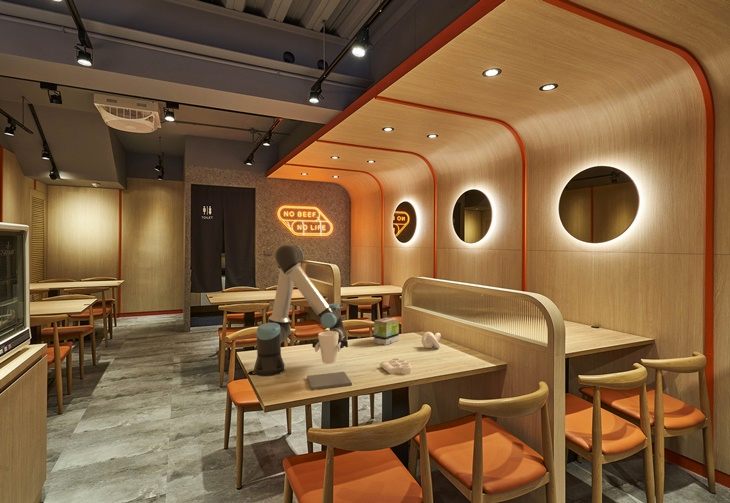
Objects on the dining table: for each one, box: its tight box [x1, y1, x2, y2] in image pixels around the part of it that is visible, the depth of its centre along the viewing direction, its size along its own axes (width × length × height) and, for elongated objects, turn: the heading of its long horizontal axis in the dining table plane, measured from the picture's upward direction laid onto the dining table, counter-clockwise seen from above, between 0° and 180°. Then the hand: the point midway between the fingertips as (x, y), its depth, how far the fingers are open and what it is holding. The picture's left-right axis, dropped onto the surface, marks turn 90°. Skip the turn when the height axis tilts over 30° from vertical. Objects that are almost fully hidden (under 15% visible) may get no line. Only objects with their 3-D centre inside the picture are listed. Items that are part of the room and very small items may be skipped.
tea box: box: [373, 316, 400, 346], centre depth 248 cm, size 15×10×15 cm, turn 143°
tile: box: [306, 371, 353, 391], centre depth 177 cm, size 18×16×1 cm
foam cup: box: [317, 330, 339, 364], centre depth 177 cm, size 10×9×13 cm
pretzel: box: [421, 331, 441, 349], centre depth 233 cm, size 11×12×9 cm
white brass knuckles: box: [379, 357, 414, 375], centre depth 194 cm, size 3×18×15 cm
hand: (327, 348), depth 172 cm, fingers closed on foam cup, 9 cm apart
